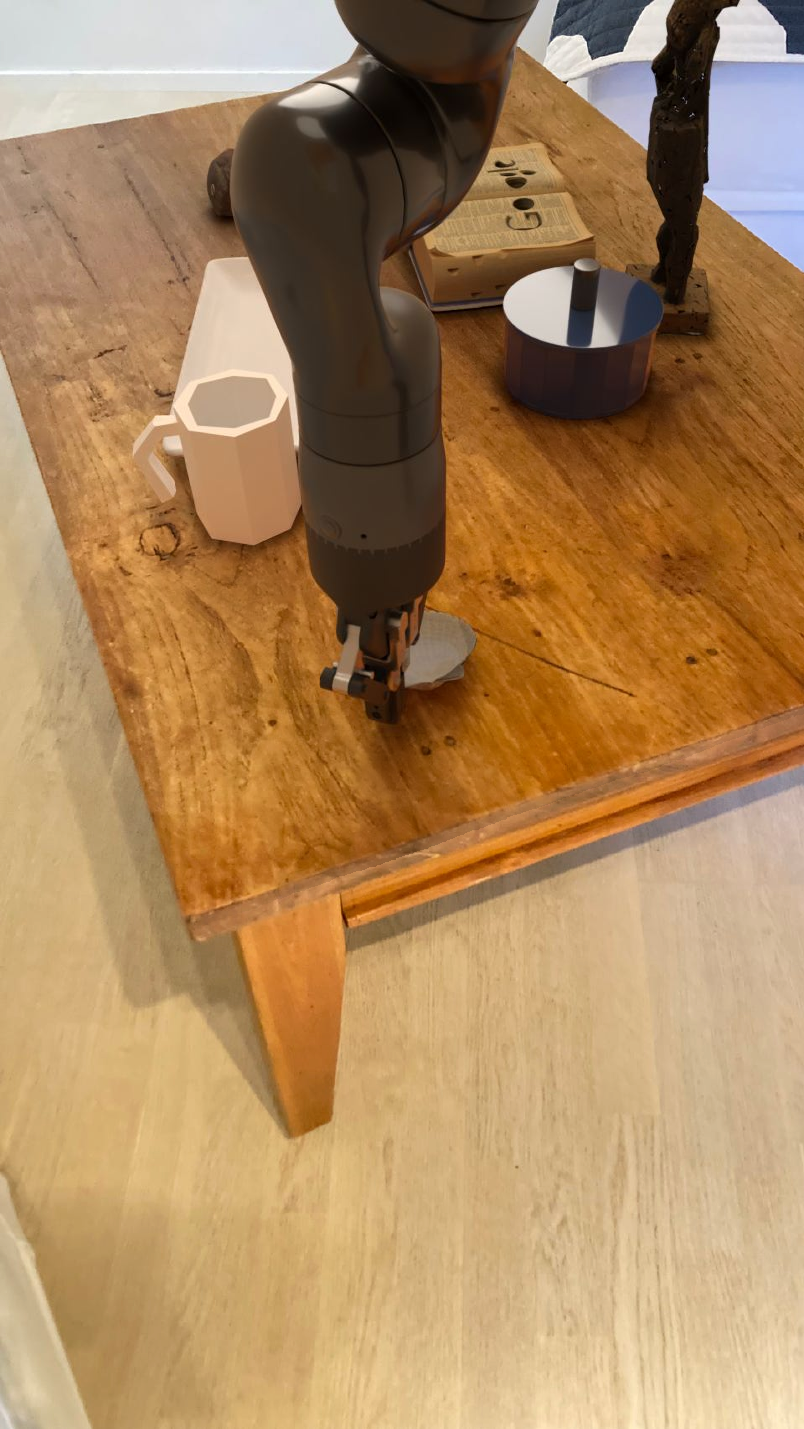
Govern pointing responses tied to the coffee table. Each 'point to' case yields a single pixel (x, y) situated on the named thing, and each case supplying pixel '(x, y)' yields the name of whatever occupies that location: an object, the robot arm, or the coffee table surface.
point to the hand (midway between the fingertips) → (386, 713)
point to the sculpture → (681, 160)
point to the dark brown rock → (220, 183)
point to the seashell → (439, 651)
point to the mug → (230, 455)
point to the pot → (575, 378)
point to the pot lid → (583, 308)
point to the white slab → (233, 335)
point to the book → (501, 232)
